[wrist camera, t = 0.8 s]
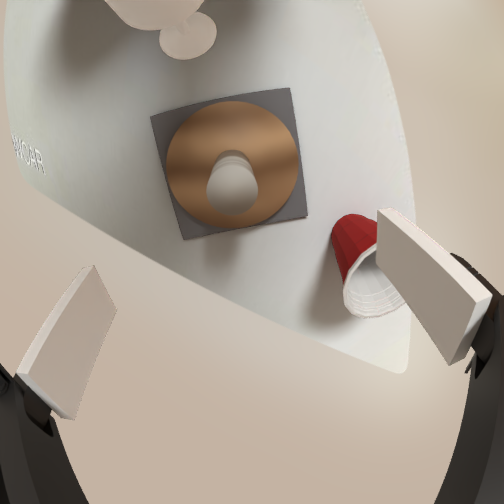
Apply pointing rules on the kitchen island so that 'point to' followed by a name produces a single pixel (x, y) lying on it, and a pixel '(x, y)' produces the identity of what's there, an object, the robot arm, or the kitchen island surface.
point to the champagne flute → (170, 24)
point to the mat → (269, 100)
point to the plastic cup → (362, 268)
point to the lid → (232, 164)
